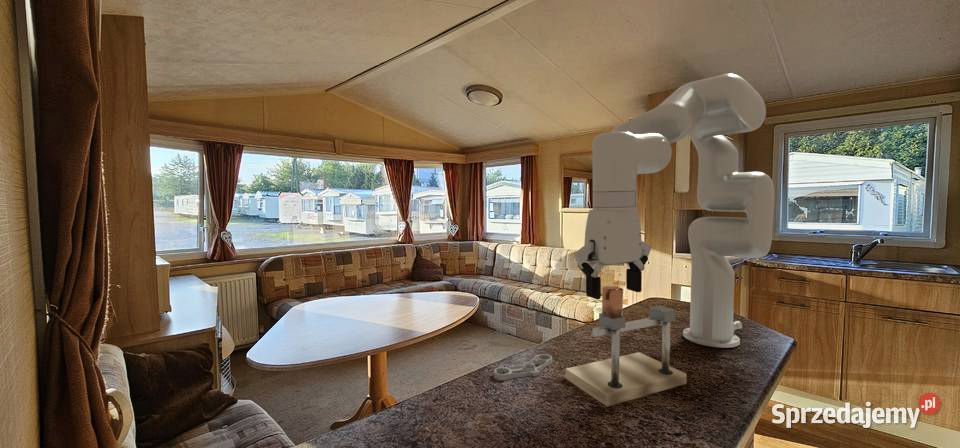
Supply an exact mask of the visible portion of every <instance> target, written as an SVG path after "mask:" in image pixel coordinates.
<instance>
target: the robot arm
mask: <svg viewBox="0 0 960 448" xmlns="http://www.w3.org/2000/svg"><path fill="white" fill-rule="evenodd" d="M766 115H767V107H766V104H765V101H764V99H763V97H762V96H761V94H760V93H759V92H758V91H757V90H756V89H755V88H754V87H753V86H752V85H751V84H750V82H748V81H747V80H746V79H744V78H743V77H741V76H739V75H737V74H734V73H724V74H719V75H715V76H711V77H707V78H703V79H698V80H694V81H690V82H687V83H685V84H683V85H681V86H680V87H678V88H677V89H676V90H674V91H673V92H672V93H671V94H670V95H669V96H668V97H667V98H665V100H663V101H662V102H661V103H660V104H659V105H658V106H656V107H655V108H652V109H650V110H647V111H646V112H644V113H642V114H640V115H638V116H636V117H634V118H632V119H629V120H628V121H626V122H623V123H621V124H620V125H618V126H617V127H614V128H613V129H612V130H611V131H609V132H608V131H607V132H602V133H598V134H597V135H595V137H594V138H593V141H592V209H589V210H588V214H587V217H586V218H587V219H586V224H585V231H584V244H583V246H582V247H580V248H579V249H577V250H576V251H575V252H574V253H573V257H574V260H575V262H576V263H577V267H578V268H579V269H580V270H581V272H582V274H583V275H584V276H585V291H586V292H585V293H586V296H587V297H588V298H591V299H594V300H600V299H602V284H601V283H602V282H601V281H602V278H601V277H600V276H599V274H600V273H601V271H602V270H603V268H604V266H614V265H623V264H626V265H627V267H628V268H626V274H625V277H626V279H625V280H626V284H625V285H626V287H625V288H626V289H627V290H629V291H632V292H635V293H641V292H642V290H643V289H642V287H643V286H642V278H643V276H642V275H643V274H642V272H643V271H645V265H646V264H647V262H648V261H649V255H650V252H651V250H652V246H651V245H650V244H648V243H647V242H645V241H643V240H642V228H641V220H640V213H639V209H638V208H637V202H638V200H639V197H638V195H637V175H645V174H646V175H647V174H654V173H657V172H661V171H662V170H664V169H665V168H666V167H667V166H668V165H669V163H670V161H671V158H672V155H673V154H672V153H673V152H672V151H673V150H672V146H671V144H674V143H675V142H678V141H680V140H682V139H684V138H685V137H686V136H688V137H689V139H690V140H691V142H692V143H693V146H694V147H695V149H696V151H697V156H698V174H697V175H698V176H697V190H696V191H697V192H696V195H697V199H696V200H697V204H698V206H699V207H700V208H701V209H702V210H706V211H710V212H711V211H712V212H728V213H729V212H731V213H732V212H734V213H736V212H741V213H743V212H744V213H745V214H746V217H731V216H703V217H698V218H696V219H694V220H693V221H692V222H691V223H690V224H689V226H688V229H687V237H688V244H689V250H690V258H691V259H690V260H691V262H690V263H691V264H690V265H691V275H690V278H691V279H690V304H689V305H690V306H689V307H690V311H689V313H690V314H689V327H686V328H684V329H683V331H682V336H683V338H685V339H686V340H687V341H690V342H691V343H694V344H698V345H701V346H705V347H711V348H717V349H719V348H720V349H729V348H736V347H738V346H739V345H740V344H741V338H740V337H739V336H737V335H736V334H735V331H736V330H739V329H742V328H743V323H742V322H741V321H739V320H736V321H734V308H735V307H734V306H735V302H734V300H735V282H736V281H735V280H736V276H735V275H736V274H735V271H734V268H733V267H732V265H731V263H730V261H729V260H728V259H727V257H737V258H738V257H739V258H748V259H749V258H750V259H760V258H764V257H765V256H767V255H768V253H770V250H771V246H772V240H773V229H774V227H773V226H774V225H773V224H774V210H775V209H774V208H775V187H774V182H773V180H772V178H771V177H770V176H769V175H768V174H766V173H764V172H761V171H745V172H743V171H741V172H740V171H739V151H738V149H737V147H736V146H735V145H734V144H733V142H731V141H730V139H728V138H727V136H726V135H733V134H734V135H735V134H742V133H743V134H744V133H748V132H749V133H750V132H753V131H757V130H758V129H759V128H760V127H761V126H762V125H763V123H764V122H765V120H766Z"/></svg>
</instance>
